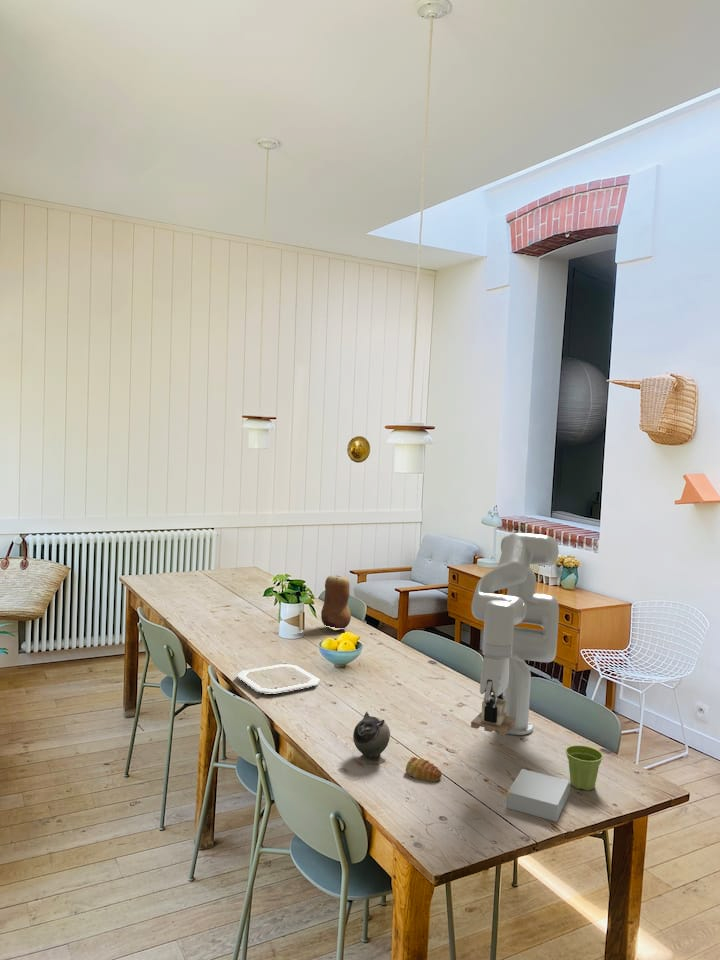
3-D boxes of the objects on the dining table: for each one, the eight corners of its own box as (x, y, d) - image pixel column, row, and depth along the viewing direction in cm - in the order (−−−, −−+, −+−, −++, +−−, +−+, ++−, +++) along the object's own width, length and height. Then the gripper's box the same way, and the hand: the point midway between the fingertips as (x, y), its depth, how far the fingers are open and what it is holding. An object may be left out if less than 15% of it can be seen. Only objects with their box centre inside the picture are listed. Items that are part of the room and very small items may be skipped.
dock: (521, 783, 185) (522, 768, 185) (568, 796, 180) (569, 780, 180) (506, 807, 173) (507, 791, 173) (556, 821, 167) (557, 805, 167)
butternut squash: (353, 627, 330) (356, 574, 328) (345, 635, 317) (347, 579, 315) (325, 624, 334) (327, 571, 332) (316, 631, 321) (318, 576, 319)
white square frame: (325, 688, 250) (325, 682, 250) (262, 700, 236) (262, 694, 236) (291, 667, 271) (291, 662, 271) (231, 678, 257) (231, 672, 257)
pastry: (446, 776, 188) (446, 762, 188) (434, 786, 183) (434, 772, 182) (415, 766, 193) (415, 752, 193) (402, 775, 188) (403, 761, 188)
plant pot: (580, 796, 180) (582, 763, 179) (556, 779, 188) (558, 747, 188) (609, 790, 184) (611, 758, 183) (584, 774, 192) (586, 743, 192)
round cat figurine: (345, 761, 194) (379, 770, 189) (346, 718, 194) (380, 726, 189) (363, 748, 203) (396, 756, 198) (364, 706, 203) (396, 714, 198)
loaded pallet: (482, 715, 190) (483, 692, 190) (515, 723, 186) (516, 699, 186) (470, 727, 183) (472, 702, 182) (504, 735, 178) (506, 710, 178)
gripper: (493, 639, 192) (490, 704, 193) (472, 654, 177) (468, 725, 179) (521, 643, 189) (517, 710, 190) (501, 660, 174) (497, 732, 175)
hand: (493, 717), depth 184 cm, fingers closed on loaded pallet, 5 cm apart
